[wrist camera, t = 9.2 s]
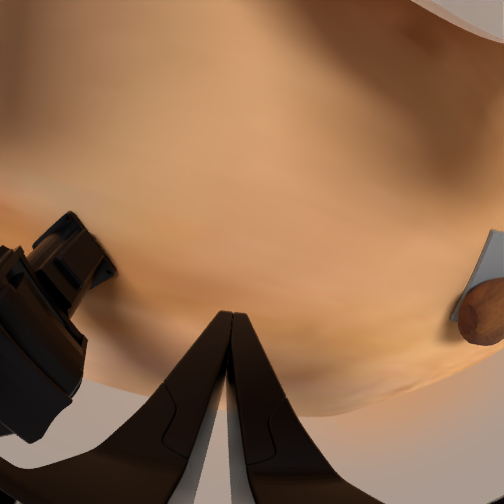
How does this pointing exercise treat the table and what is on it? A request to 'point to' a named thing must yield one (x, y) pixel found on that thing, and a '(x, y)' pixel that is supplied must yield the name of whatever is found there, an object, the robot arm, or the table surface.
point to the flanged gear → (471, 15)
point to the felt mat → (485, 266)
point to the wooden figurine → (483, 313)
